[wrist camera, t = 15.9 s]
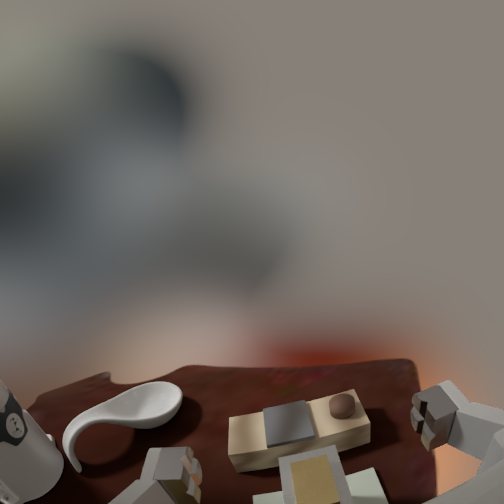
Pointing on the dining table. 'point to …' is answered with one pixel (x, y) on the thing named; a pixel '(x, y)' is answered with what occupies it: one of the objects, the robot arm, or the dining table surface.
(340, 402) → the block plane
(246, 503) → the dining table surface
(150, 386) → the spoon rest
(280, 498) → the mat
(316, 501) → the grey tall block
